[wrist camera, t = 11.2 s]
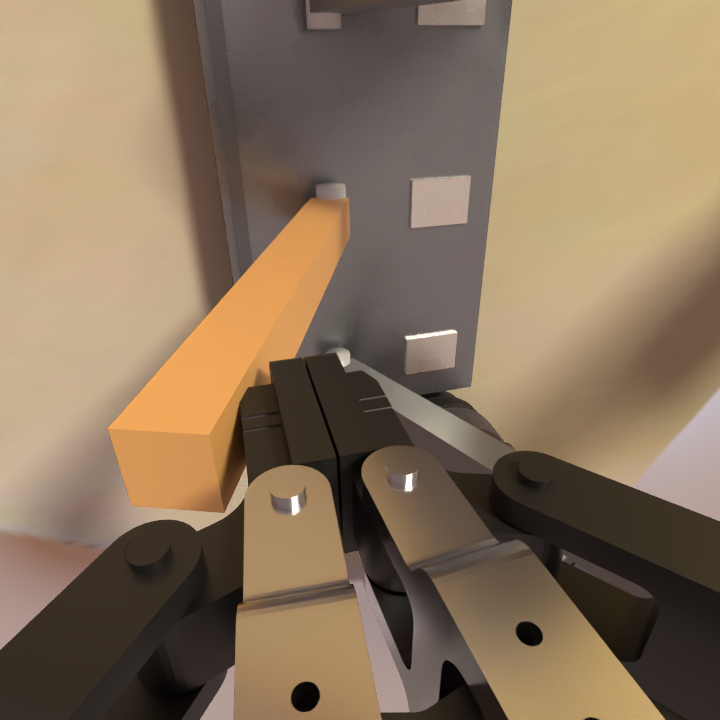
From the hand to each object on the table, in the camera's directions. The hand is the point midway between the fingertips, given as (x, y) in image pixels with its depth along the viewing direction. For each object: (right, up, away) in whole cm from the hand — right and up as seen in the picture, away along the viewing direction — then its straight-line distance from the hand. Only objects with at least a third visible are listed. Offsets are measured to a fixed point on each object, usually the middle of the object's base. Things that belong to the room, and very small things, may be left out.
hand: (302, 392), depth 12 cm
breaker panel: (+1, +10, +17) cm, 20 cm away
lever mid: (0, +8, +13) cm, 15 cm away
